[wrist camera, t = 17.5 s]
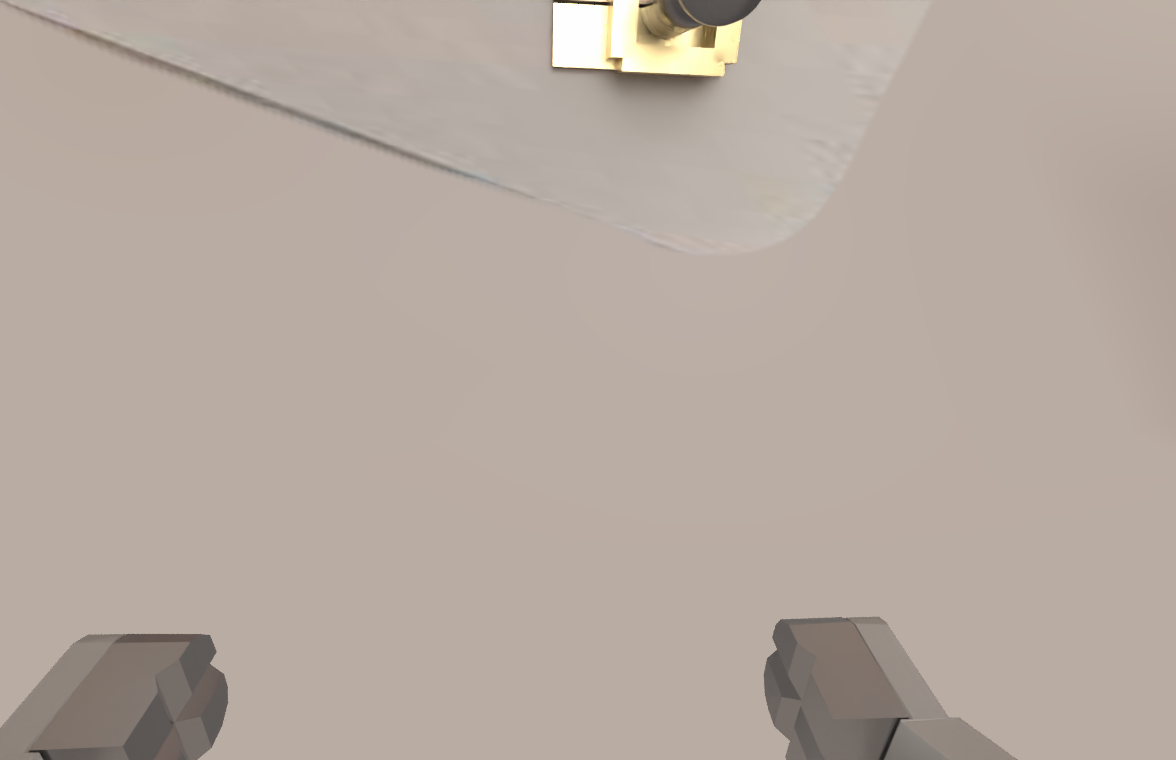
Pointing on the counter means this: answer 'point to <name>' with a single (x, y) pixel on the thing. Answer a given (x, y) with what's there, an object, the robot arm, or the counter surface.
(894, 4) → the counter surface
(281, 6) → the counter surface
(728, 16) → the pin
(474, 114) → the counter surface
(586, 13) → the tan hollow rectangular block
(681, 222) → the counter surface
